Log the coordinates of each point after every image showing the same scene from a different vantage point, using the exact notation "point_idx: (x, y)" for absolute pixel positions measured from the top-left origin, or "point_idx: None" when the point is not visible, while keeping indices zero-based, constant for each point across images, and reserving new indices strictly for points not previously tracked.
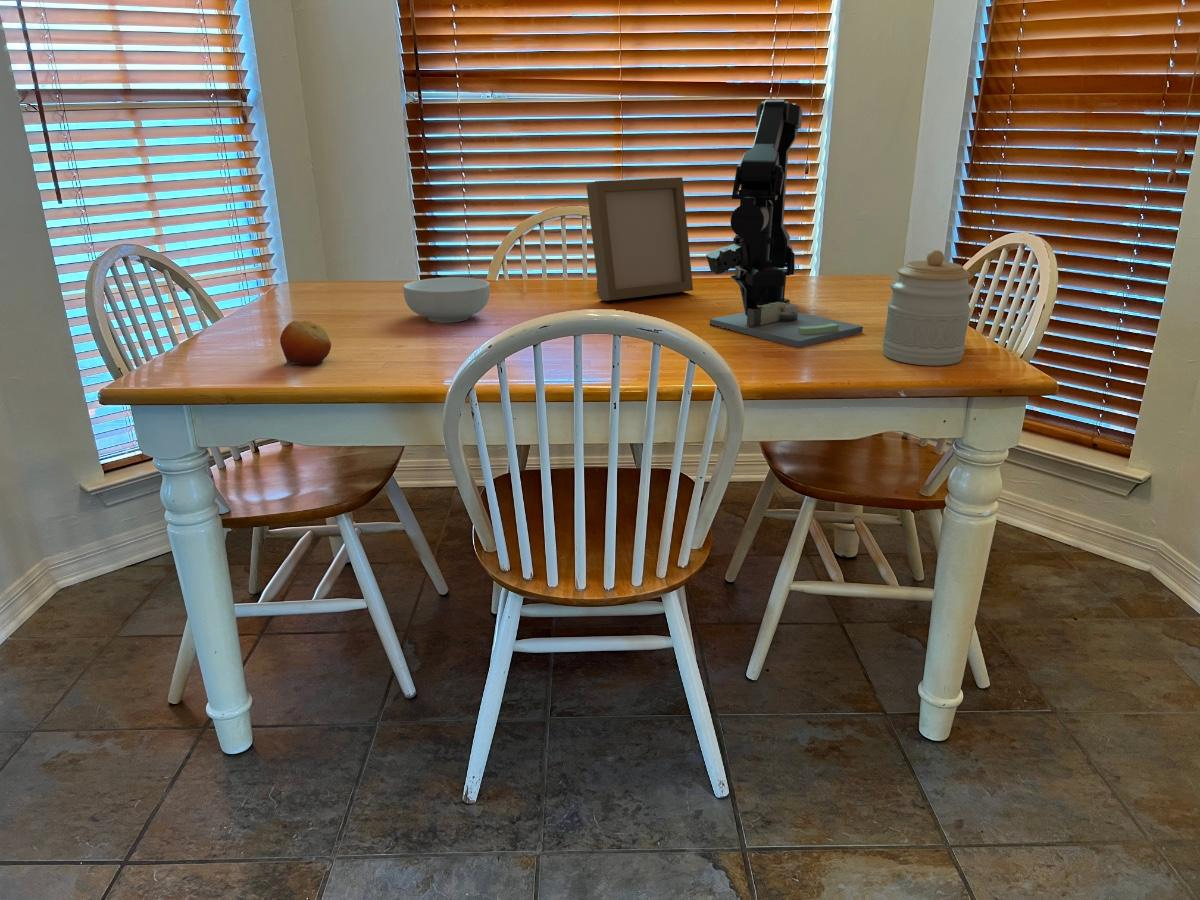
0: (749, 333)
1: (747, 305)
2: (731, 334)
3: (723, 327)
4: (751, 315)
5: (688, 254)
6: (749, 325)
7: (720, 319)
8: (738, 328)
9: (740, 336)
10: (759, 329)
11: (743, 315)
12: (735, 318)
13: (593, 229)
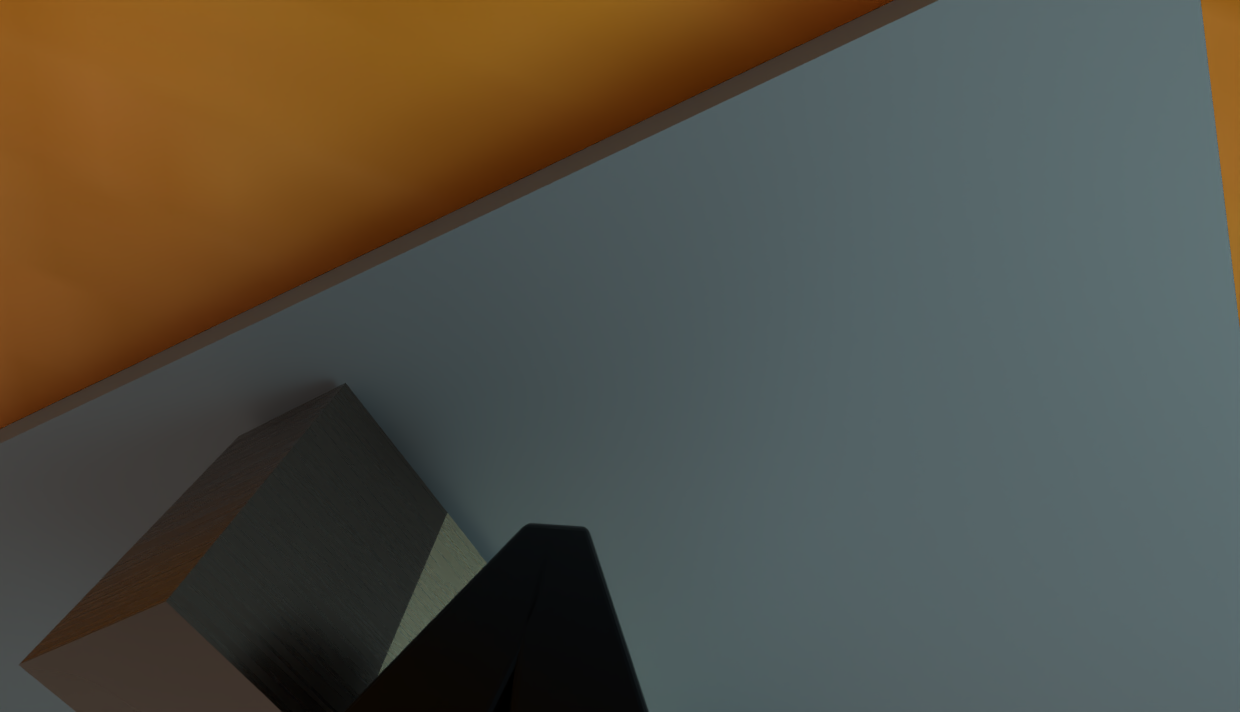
0: (226, 326)
1: (385, 687)
2: (305, 69)
3: (731, 82)
4: (162, 535)
5: None
6: (297, 409)
7: (1001, 118)
8: (399, 246)
9: (174, 167)
10: (152, 467)
11: (1088, 590)
12: (953, 415)
13: None
